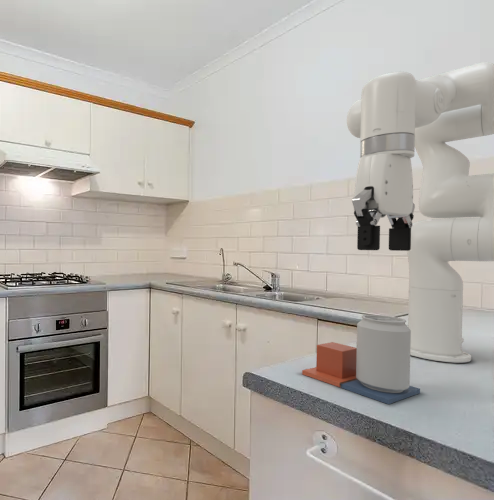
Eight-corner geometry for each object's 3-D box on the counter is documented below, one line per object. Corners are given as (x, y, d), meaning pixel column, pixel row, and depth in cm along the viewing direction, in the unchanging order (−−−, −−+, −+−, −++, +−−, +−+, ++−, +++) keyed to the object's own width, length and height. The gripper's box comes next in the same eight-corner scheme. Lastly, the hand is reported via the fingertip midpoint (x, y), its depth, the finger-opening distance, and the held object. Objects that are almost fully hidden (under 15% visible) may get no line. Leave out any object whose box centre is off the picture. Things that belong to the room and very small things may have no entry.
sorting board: (333, 366, 75) (333, 362, 75) (420, 393, 62) (420, 388, 62) (302, 374, 71) (302, 370, 71) (388, 404, 57) (388, 399, 57)
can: (358, 375, 68) (359, 311, 68) (409, 385, 63) (411, 316, 63) (353, 386, 62) (354, 317, 62) (409, 399, 57) (410, 323, 57)
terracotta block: (331, 366, 73) (332, 341, 73) (357, 374, 68) (358, 348, 68) (316, 370, 71) (316, 344, 71) (342, 378, 66) (342, 351, 66)
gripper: (389, 161, 70) (387, 250, 70) (333, 148, 62) (332, 249, 62) (437, 152, 63) (435, 251, 63) (382, 137, 55) (380, 250, 55)
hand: (384, 250), depth 62 cm, fingers open, 9 cm apart
